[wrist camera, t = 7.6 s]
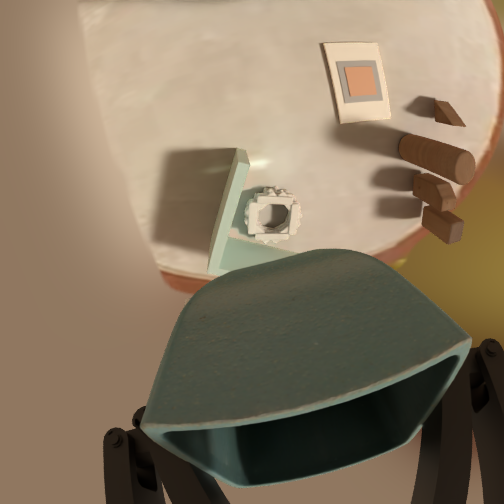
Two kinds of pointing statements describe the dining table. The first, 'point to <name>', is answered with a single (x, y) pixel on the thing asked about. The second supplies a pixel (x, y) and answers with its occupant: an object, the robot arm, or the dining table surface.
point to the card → (358, 81)
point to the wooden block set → (446, 165)
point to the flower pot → (301, 368)
